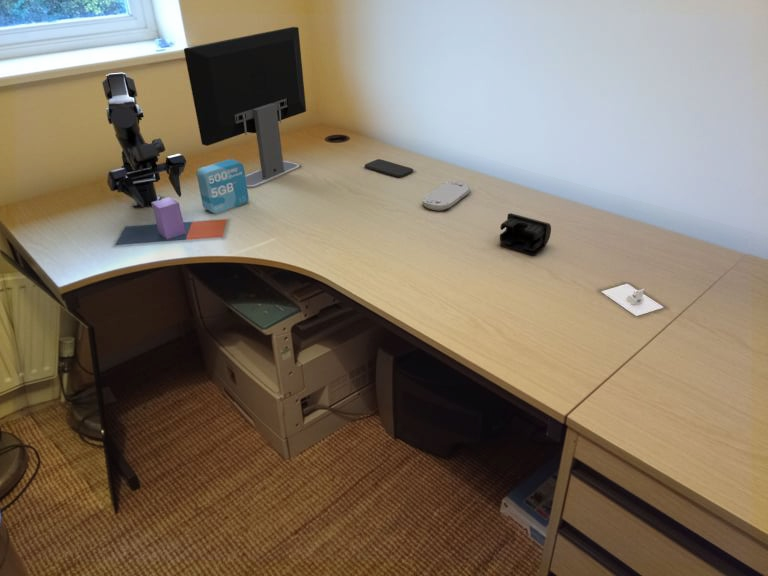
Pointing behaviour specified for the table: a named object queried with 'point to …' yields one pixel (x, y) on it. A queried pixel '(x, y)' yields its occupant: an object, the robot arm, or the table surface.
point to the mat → (192, 232)
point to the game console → (446, 195)
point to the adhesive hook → (632, 299)
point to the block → (168, 217)
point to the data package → (222, 185)
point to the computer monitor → (249, 92)
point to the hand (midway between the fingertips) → (162, 201)
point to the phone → (389, 168)
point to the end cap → (524, 234)
